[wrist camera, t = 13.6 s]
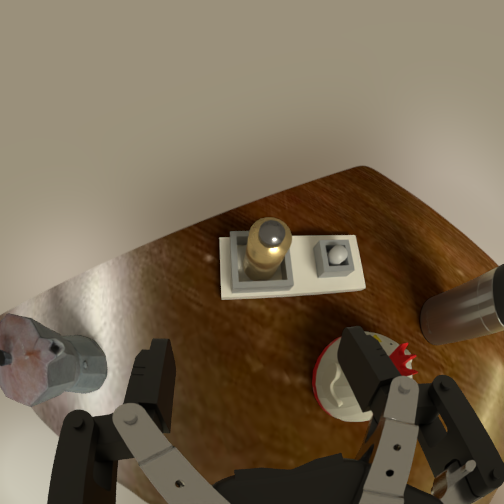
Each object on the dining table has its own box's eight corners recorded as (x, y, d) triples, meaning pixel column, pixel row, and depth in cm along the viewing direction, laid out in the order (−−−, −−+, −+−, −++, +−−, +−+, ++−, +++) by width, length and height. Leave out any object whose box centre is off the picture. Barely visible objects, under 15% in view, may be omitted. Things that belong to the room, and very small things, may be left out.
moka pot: (135, 380, 33) (58, 394, 14) (60, 407, 29) (-27, 419, 10) (110, 320, 35) (28, 283, 17) (40, 352, 31) (-49, 333, 13)
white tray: (351, 238, 44) (365, 224, 39) (361, 290, 41) (378, 280, 36) (219, 241, 42) (219, 225, 37) (221, 299, 38) (221, 290, 33)
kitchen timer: (387, 328, 39) (450, 309, 25) (392, 407, 34) (455, 417, 20) (308, 338, 38) (355, 324, 24) (313, 426, 32) (359, 457, 19)
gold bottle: (274, 249, 40) (291, 212, 30) (277, 281, 39) (297, 252, 28) (241, 250, 40) (248, 212, 29) (244, 282, 38) (251, 253, 28)
